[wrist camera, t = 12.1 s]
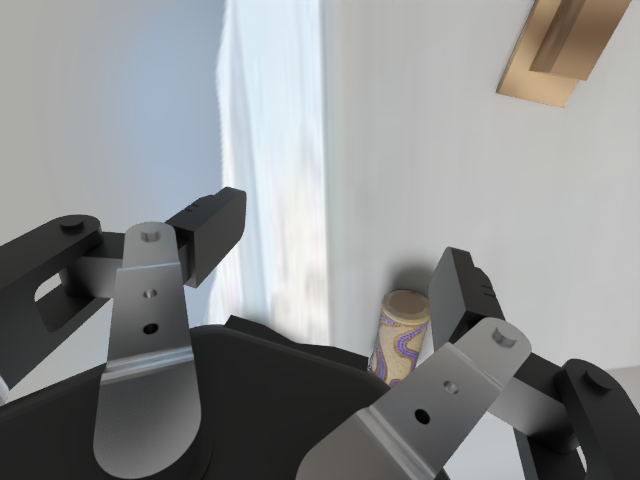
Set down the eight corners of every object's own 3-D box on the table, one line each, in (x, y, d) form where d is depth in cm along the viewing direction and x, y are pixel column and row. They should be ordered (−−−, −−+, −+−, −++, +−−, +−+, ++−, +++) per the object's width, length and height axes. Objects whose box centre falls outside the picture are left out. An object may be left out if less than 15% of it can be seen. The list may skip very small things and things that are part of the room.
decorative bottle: (382, 283, 50) (380, 312, 44) (431, 291, 49) (436, 322, 43) (363, 386, 63) (359, 418, 57) (401, 394, 62) (402, 428, 56)
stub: (559, -55, 28) (599, -83, 22) (639, -41, 27) (699, -67, 22) (495, 92, 34) (513, 99, 29) (558, 106, 33) (589, 116, 28)
